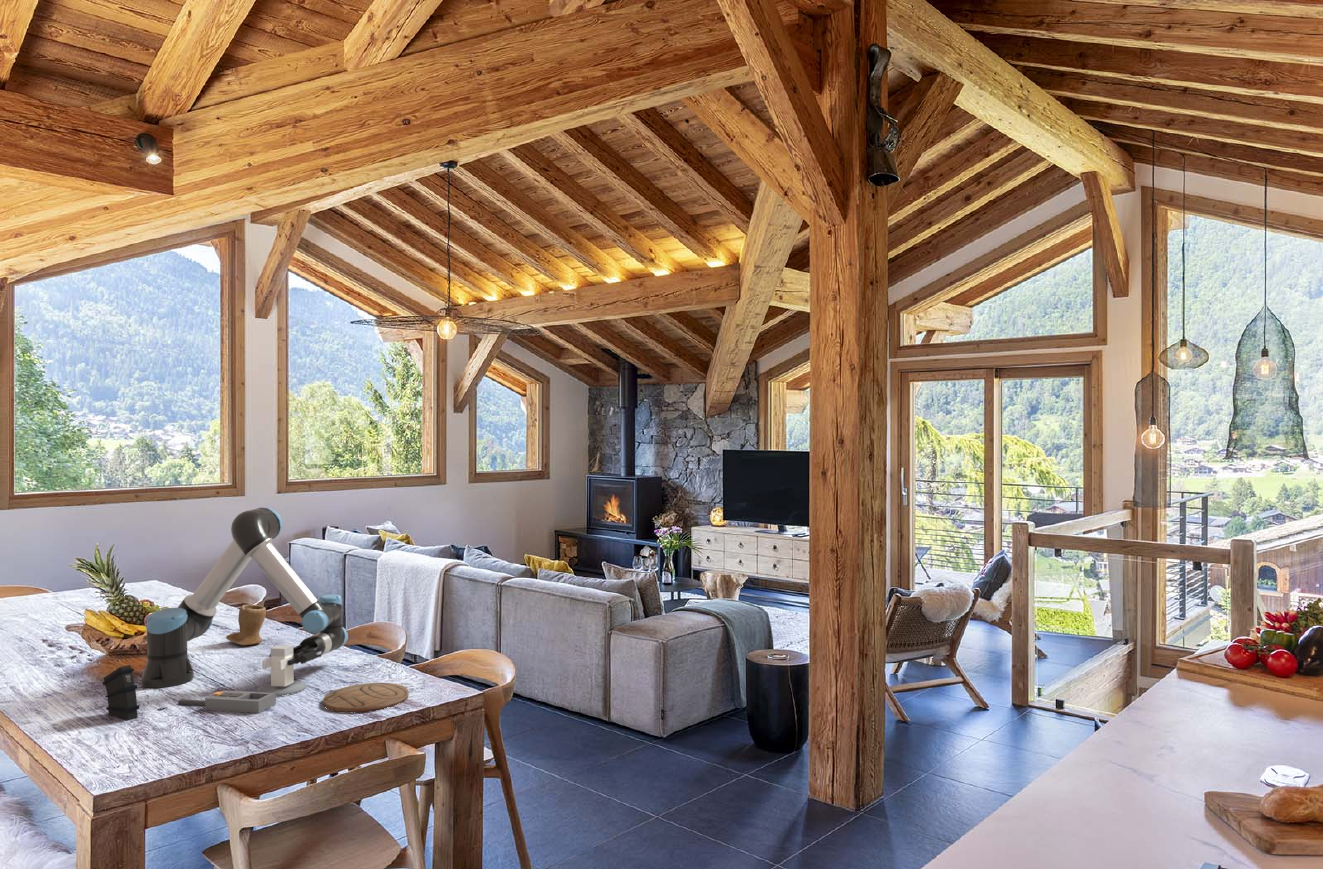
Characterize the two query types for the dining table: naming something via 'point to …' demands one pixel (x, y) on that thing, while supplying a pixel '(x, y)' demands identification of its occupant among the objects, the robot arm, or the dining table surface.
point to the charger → (278, 676)
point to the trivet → (365, 697)
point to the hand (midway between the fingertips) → (271, 665)
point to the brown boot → (249, 625)
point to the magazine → (121, 693)
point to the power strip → (235, 701)
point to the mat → (284, 688)
